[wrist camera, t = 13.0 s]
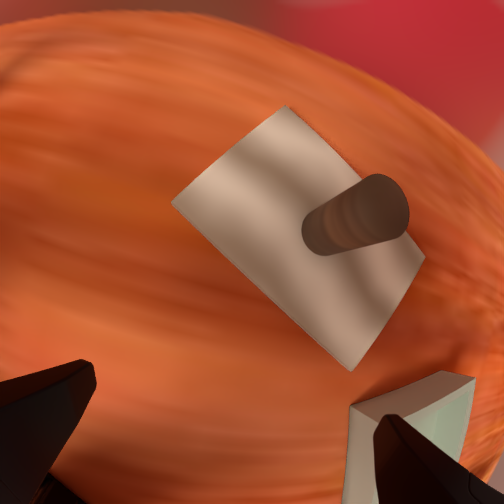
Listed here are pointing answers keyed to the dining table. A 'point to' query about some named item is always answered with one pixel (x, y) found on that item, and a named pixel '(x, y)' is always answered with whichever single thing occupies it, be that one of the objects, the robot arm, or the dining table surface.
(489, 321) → the dining table surface
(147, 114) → the dining table surface
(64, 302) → the dining table surface
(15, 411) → the robot arm
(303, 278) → the lid
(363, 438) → the grey rectangular tray
